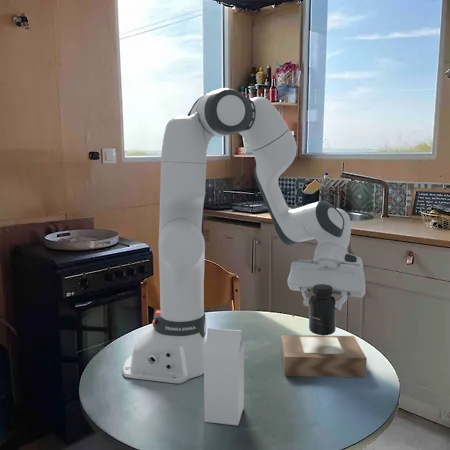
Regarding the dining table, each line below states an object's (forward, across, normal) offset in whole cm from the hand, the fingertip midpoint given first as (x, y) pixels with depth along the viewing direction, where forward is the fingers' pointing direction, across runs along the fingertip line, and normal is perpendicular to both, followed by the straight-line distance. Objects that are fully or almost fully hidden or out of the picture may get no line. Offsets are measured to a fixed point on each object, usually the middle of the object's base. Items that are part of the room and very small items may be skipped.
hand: (321, 307), depth 117 cm
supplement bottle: (+4, 0, +5) cm, 7 cm away
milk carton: (+33, -14, -11) cm, 38 cm away
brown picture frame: (+11, 0, +12) cm, 16 cm away
